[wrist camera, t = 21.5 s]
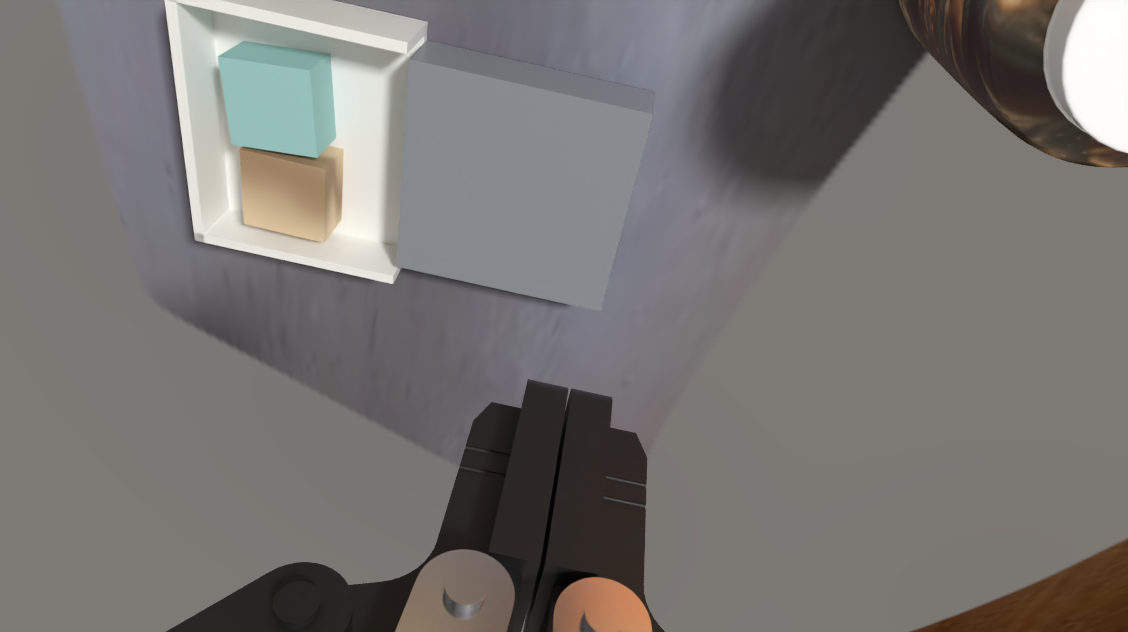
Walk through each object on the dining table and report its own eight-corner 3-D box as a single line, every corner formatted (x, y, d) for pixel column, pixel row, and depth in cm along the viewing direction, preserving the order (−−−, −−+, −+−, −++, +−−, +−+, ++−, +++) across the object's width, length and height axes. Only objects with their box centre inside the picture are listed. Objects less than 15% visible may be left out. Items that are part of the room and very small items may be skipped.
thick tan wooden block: (325, 169, 43) (343, 148, 45) (239, 149, 43) (262, 129, 45) (324, 242, 46) (341, 219, 48) (243, 223, 46) (265, 201, 48)
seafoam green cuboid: (309, 70, 39) (330, 54, 42) (217, 56, 40) (243, 40, 42) (317, 157, 42) (336, 137, 45) (231, 144, 42) (255, 125, 45)
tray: (202, -30, 41) (163, -13, 37) (427, 21, 41) (407, 42, 38) (225, 210, 49) (194, 240, 46) (410, 251, 50) (392, 283, 46)
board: (426, 40, 41) (409, 59, 39) (654, 91, 42) (653, 114, 39) (411, 238, 49) (395, 266, 46) (604, 281, 49) (600, 311, 46)
